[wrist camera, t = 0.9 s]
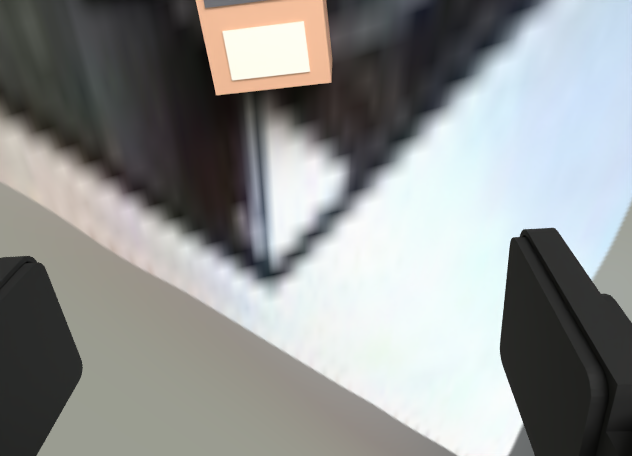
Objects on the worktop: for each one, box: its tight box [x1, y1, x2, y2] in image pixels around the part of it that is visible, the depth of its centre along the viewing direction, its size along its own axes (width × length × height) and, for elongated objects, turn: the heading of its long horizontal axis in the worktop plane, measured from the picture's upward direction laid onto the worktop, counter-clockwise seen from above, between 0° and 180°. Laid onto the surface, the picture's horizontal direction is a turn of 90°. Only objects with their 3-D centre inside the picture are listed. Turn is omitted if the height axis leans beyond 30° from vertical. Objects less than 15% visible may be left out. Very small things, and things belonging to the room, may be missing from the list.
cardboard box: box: [196, 0, 332, 95], centre depth 29 cm, size 5×6×5 cm
